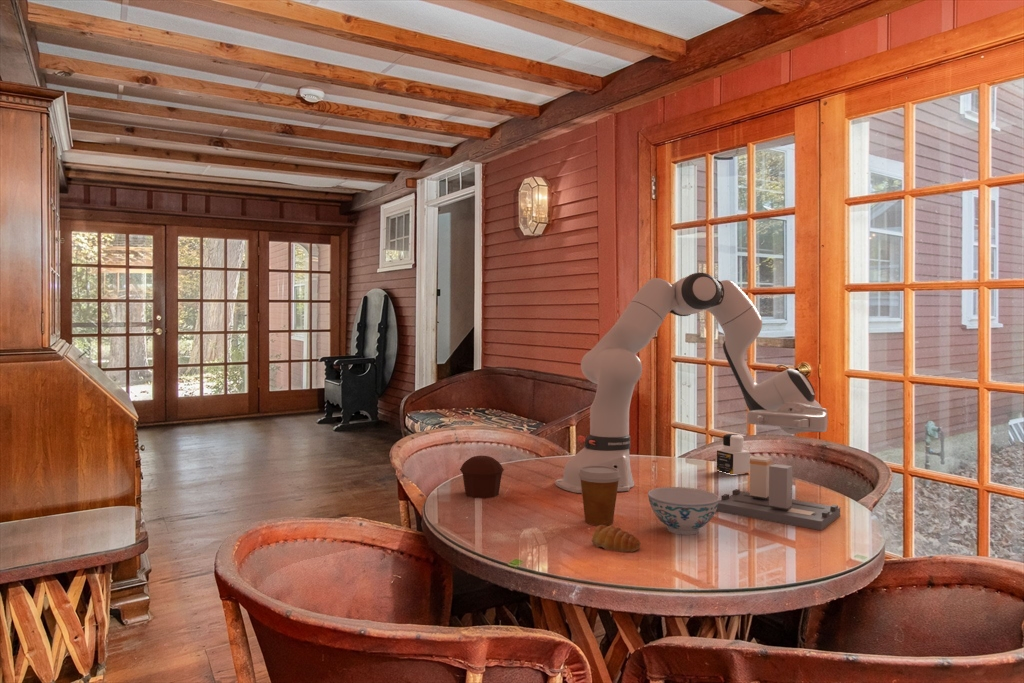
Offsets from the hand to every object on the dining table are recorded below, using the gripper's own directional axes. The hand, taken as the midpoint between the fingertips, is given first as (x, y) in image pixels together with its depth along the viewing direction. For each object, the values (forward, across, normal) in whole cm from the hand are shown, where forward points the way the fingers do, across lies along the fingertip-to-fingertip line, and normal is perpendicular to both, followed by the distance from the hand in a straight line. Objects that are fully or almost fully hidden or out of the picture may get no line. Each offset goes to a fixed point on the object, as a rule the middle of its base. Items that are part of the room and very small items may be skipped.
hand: (777, 422), depth 169 cm
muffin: (+49, -61, +20) cm, 81 cm away
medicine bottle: (-24, -21, +20) cm, 38 cm away
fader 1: (+12, 0, +17) cm, 21 cm away
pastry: (+62, -12, +20) cm, 67 cm away
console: (+15, +5, +20) cm, 26 cm away
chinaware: (+43, -6, +20) cm, 48 cm away
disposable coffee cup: (+50, -23, +20) cm, 59 cm away
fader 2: (+19, +7, +18) cm, 27 cm away
